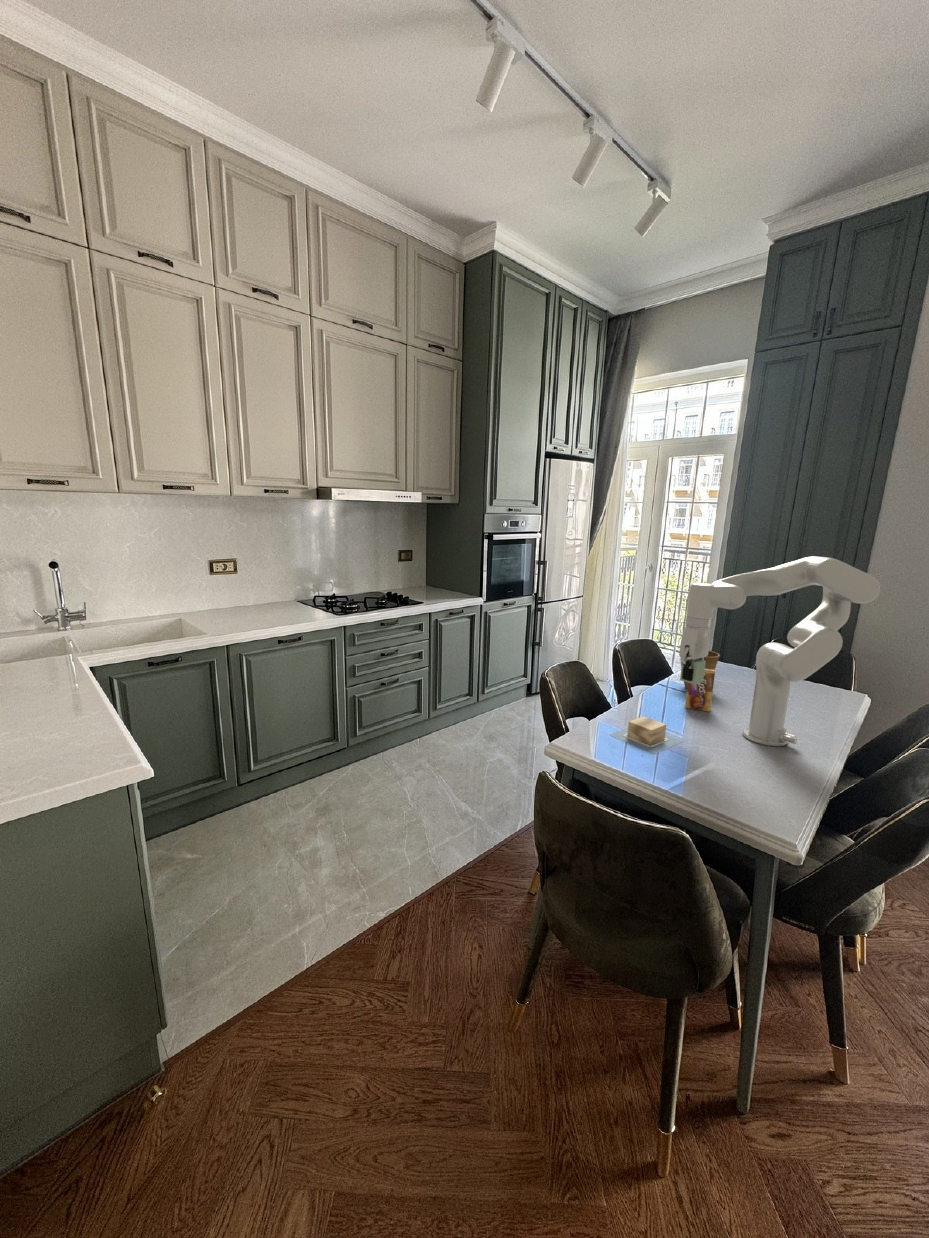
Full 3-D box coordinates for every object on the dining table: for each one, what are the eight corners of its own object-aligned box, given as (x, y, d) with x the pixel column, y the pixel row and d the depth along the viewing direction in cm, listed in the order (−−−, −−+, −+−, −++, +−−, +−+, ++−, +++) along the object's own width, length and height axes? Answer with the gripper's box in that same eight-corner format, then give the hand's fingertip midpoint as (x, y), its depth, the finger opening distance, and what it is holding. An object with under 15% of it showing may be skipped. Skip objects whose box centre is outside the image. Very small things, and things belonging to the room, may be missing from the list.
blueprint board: (683, 744, 158) (683, 740, 157) (653, 757, 148) (654, 753, 148) (638, 727, 170) (638, 723, 170) (608, 738, 161) (608, 734, 160)
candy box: (710, 708, 191) (715, 669, 188) (710, 712, 187) (715, 672, 184) (684, 704, 195) (689, 665, 192) (684, 707, 191) (689, 668, 188)
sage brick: (703, 681, 162) (705, 660, 160) (694, 684, 159) (697, 662, 157) (688, 677, 165) (690, 657, 164) (679, 680, 163) (682, 659, 161)
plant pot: (700, 696, 204) (705, 658, 201) (668, 686, 216) (672, 649, 213) (722, 691, 212) (727, 654, 209) (689, 681, 224) (694, 646, 221)
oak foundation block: (664, 739, 158) (666, 724, 157) (649, 745, 153) (651, 730, 152) (642, 730, 164) (643, 716, 163) (627, 736, 160) (628, 721, 159)
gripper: (701, 618, 166) (694, 671, 170) (672, 623, 156) (666, 679, 160) (724, 622, 161) (716, 677, 164) (695, 627, 150) (688, 686, 154)
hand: (691, 678), depth 162 cm, fingers closed on sage brick, 5 cm apart
